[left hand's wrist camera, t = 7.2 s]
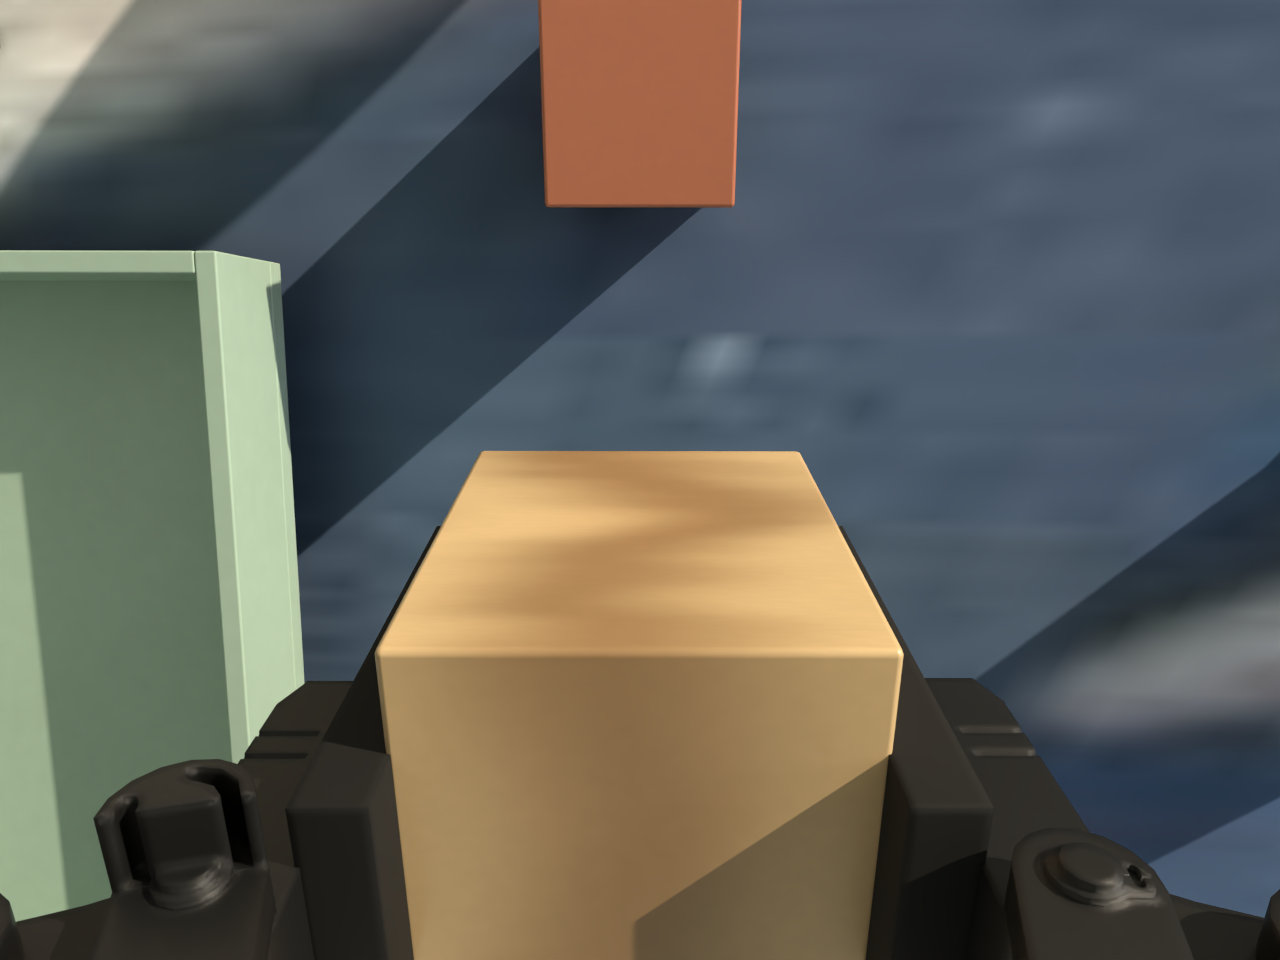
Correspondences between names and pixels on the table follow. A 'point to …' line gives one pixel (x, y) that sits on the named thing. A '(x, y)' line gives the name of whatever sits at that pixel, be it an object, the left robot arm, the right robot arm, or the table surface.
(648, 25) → the terracotta block
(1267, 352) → the table surface
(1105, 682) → the table surface
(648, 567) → the beech block
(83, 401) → the tray
